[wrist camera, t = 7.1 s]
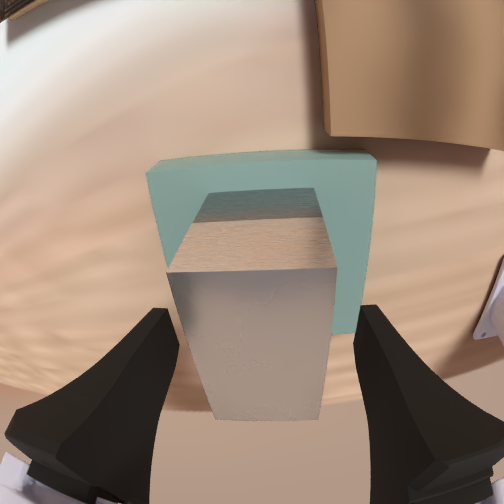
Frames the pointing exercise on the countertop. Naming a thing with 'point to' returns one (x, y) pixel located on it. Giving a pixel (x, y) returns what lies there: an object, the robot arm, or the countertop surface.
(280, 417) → the block
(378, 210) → the countertop surface
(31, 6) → the hardcover book
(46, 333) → the countertop surface
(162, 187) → the stand
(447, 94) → the stand
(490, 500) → the robot arm
